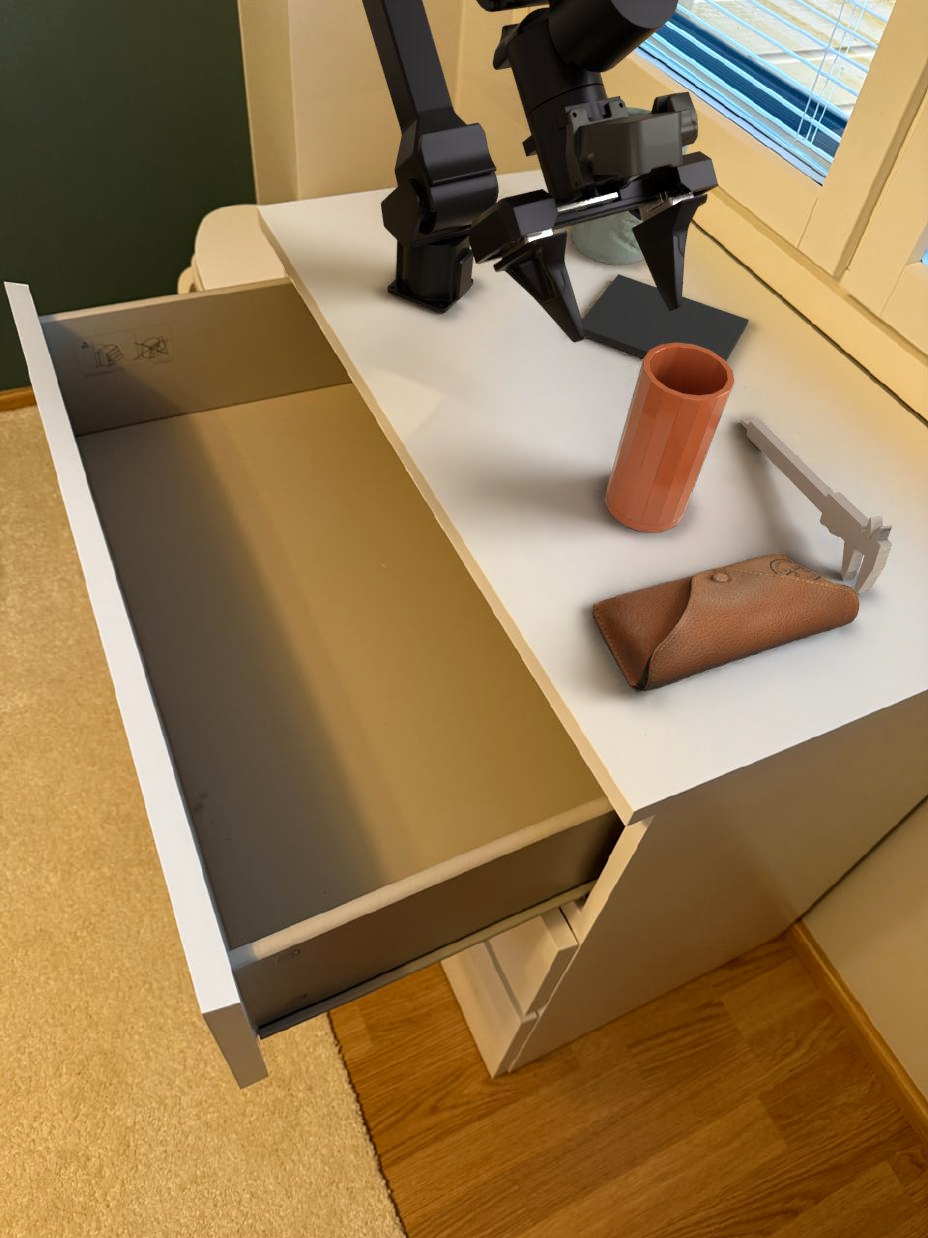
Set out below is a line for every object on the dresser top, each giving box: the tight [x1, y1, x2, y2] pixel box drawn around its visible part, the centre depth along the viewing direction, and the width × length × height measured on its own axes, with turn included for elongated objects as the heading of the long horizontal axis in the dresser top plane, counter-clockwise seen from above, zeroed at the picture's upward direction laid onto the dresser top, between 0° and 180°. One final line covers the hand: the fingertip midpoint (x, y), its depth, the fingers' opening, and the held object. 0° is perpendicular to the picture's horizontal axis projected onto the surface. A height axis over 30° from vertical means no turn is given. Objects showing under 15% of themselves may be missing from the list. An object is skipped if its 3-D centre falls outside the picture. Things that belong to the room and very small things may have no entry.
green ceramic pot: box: [571, 106, 690, 266], centre depth 95 cm, size 10×10×12 cm
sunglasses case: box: [592, 552, 860, 692], centre depth 66 cm, size 18×7×7 cm
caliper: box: [740, 418, 893, 594], centre depth 74 cm, size 20×1×6 cm, turn 15°
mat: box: [581, 274, 750, 362], centre depth 90 cm, size 14×11×1 cm
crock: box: [604, 343, 735, 533], centre depth 70 cm, size 6×6×13 cm
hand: (628, 324), depth 68 cm, fingers open, 9 cm apart
